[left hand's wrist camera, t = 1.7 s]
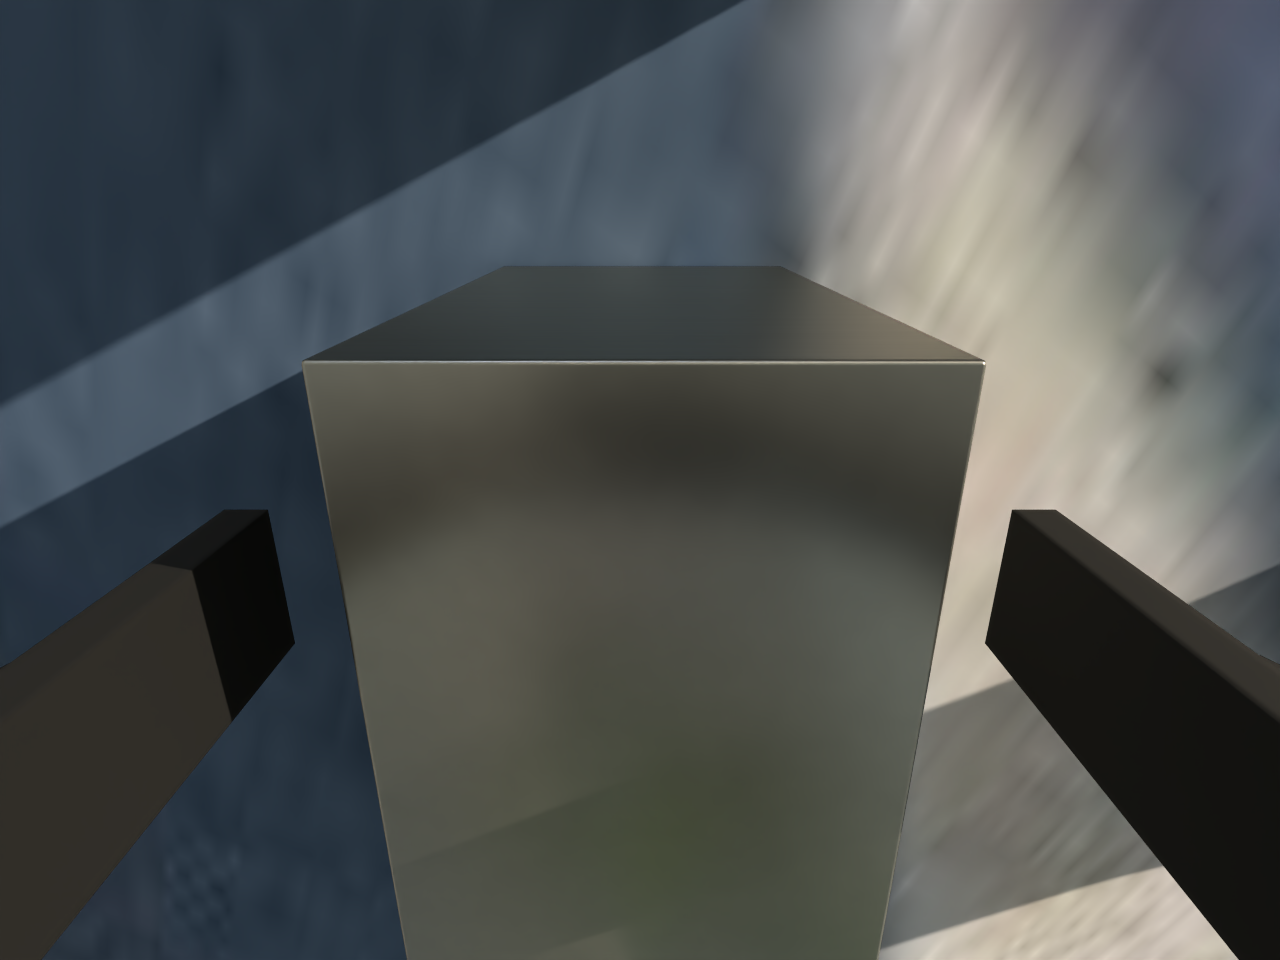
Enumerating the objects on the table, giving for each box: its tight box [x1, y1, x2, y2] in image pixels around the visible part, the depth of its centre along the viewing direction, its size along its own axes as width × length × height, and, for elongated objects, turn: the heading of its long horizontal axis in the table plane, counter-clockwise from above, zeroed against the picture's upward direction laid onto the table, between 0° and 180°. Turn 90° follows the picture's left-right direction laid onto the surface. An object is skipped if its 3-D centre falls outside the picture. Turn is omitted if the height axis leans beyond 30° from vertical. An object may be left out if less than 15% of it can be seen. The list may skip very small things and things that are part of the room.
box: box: [302, 266, 986, 960], centre depth 18 cm, size 22×8×13 cm, turn 0°
